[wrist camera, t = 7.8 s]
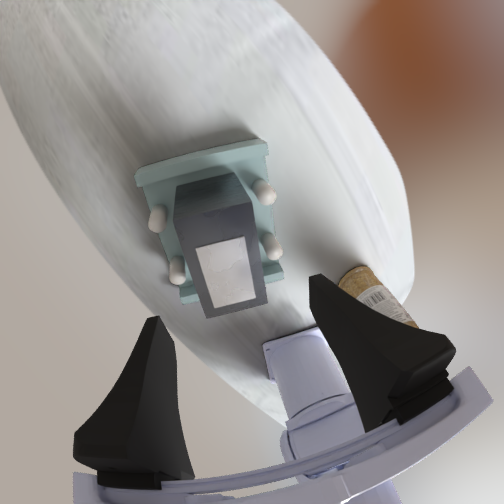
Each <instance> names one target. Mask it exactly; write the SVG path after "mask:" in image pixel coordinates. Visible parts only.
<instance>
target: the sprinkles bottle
mask: <svg viewBox="0 0 504 504" xmlns="http://www.w3.org/2000/svg"><path fill="white" fill-rule="evenodd" d="M338 286H339V287H340V288H341V289H343V290H344V291H345V292H347V293H348V294H350V295H351V296H353V297H354V298H356V299H357V300H359V301H360V302H362V303H364V304H365V305H367V306H368V307H370V308H372V309H374V310H376V311H377V312H379V313H381V314H383V315H385V316H387V317H390V318H392V319H394V320H397V321H399V322H402V323H404V324H407V325H409V326H412V327H415V328H418V326H417V325H416V323H415V321H414V320H413V319H412V318H411V317H410V315H409V314H408V313H407V312H406V310H405V309H404V308H403V307H402V305H401V304H400V303H399V302H398V301H397V299H396V298H395V297H394V296H393V295H392V294H391V292H390V291H389V290H388V289H387V288H386V287H385V286H384V285H383V284H382V283H381V282H380V281H379V280H378V278H377V277H376V276H375V275H374V273H373V271H372V270H371V269H370V268H368V267H364V266H362V267H356V268H354V269H352V270H351V271H349V272H348V273H347V274H346V275H345V276H344V277H343V278H342V279H341V281H340V283H339V285H338Z"/></svg>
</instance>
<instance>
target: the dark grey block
mask: <svg viewBox="0 0 504 504" xmlns="http://www.w3.org/2000/svg"><path fill="white" fill-rule="evenodd" d="M173 224H174V227H175V230H176V233H177V236H178V239H179V242H180V245H181V248H182V251H183V254H184V257H185V260H186V263H187V266H188V269H189V272H190V275H191V278H192V280H193V283H194V286H195V289H196V291H197V294H198V297H199V300H200V302H201V305H202V308H203V310H204V313H205V315H206V318H211V317H215V316H220V315H224V314H228V313H232V312H236V311H240V310H244V309H248V308H251V307H255V306H259V305H263V304H267V303H268V301H267V295H266V288H265V281H264V275H263V268H262V262H261V255H260V249H259V242H258V236H257V229H256V223H255V216H254V210H253V204H252V200H251V199H250V197H249V195H248V194H247V192H246V190H245V189H244V187H243V186H242V184H241V182H240V181H239V179H238V177H237V176H236V174H235V172H232V173H228V174H223V175H219V176H214V177H210V178H206V179H202V180H198V181H194V182H190V183H186V184H182V185H178V186H176V193H175V202H174V212H173Z"/></svg>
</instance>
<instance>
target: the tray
mask: <svg viewBox="0 0 504 504" xmlns="http://www.w3.org/2000/svg"><path fill="white" fill-rule="evenodd" d="M265 155H269V153H268V146H267V143H266V142H265V141H263V140H261V139H260V138H258V139H252V140H247V141H242V142H237V143H232V144H227V145H223V146H218V147H214V148H210V149H205V150H201V151H197V152H193V153H189V154H185V155H182V156H178V157H174V158H171V159H167V160H164V161H160V162H157V163H153V164H150V165H147V166H144V167H141V168H139V169H138V170H137V172H136V173H135V175H134V178H135V181H136V184H137V187H141V186H142V188H143V191H144V194H145V198H146V201H147V204H148V207H149V209H150V212H151V214H150V218H149V222H148V227H149V229H150V230H151V231H152V232H154V233H158V235H159V238H160V240H161V243H162V246H163V248H164V251H165V254H166V256H167V259H168V261H169V264H170V272H169V280H170V282H171V283H173V284H175V285H178V286H179V288H180V300H181V302H182V304H183V305H185V304H189V303H193V302H198V301H200V300H199V297H198V294H197V291H196V289H195V286H194V283H193V280H192V278H191V275H190V272H189V269H188V266H187V263H186V260H185V257H184V254H183V251H182V248H181V245H180V242H179V239H178V236H177V233H176V230H175V227H174V224H173V212H174V202H175V193H176V186H178V185H182V184H186V183H190V182H194V181H198V180H202V179H206V178H210V177H214V176H219V175H223V174H228V173H232V172H235V174H236V176H237V177H238V179H239V181H240V182H241V184H242V186H243V187H244V189H245V190H246V192H247V194H248V195H249V197H250V199H251V200H252V204H253V210H254V216H255V223H256V229H257V236H258V242H259V249H260V255H261V262H262V268H263V275H264V281H265V284H267V283H271V282H275V281H278V280H282V279H284V274H283V270H282V268H281V266H280V264H279V260H278V259H279V258H280V257H281V256H282V254H283V249H282V247H281V246H280V244H279V242H278V241H277V239H276V236H275V228H274V220H273V212H272V205H271V204H272V203H274V202H275V200H276V197H277V195H276V192H275V190H274V189H273V188H272V187H271V186H270V185H269V183H268V176H267V169H266V162H265Z"/></svg>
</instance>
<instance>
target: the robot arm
mask: <svg viewBox="0 0 504 504" xmlns="http://www.w3.org/2000/svg"><path fill="white" fill-rule="evenodd" d="M309 304H310V309H311V312H312V314H313V317H314V319H315V321H316V323H317V325H318V327H315V328H312V329H309V330H306V331H303V332H300V333H296V334H293V335H290V336H287V337H283V338H280V339H276V340H273V341H269V342H266V343H264V344H263V351H264V355H265V360H266V364H267V369H268V373H269V378H270V382H271V383H277V386H278V389H279V392H280V395H281V398H282V400H283V403H284V406H285V409H286V412H287V415H288V418H289V420H288V421H286V422H285V423H286V426H287V429H286V430H284V431H283V433H282V436H281V438H280V447H281V451H282V454H283V457H284V460H285V462H286V463H282V464H279V465H275V466H271V467H267V468H263V469H258V470H254V471H249V472H244V473H238V474H232V475H226V476H219V477H212V478H203V479H194V478H195V475H194V472H193V469H192V466H191V462H190V459H189V456H188V452H187V448H186V445H185V440H184V436H183V431H182V426H181V421H180V415H179V409H178V398H177V397H178V396H177V360H176V353H175V346H174V341H173V340H172V338H171V336H170V334H169V333H168V331H167V329H166V327H165V325H164V324H163V322H162V320H161V318H160V316H154V317H150V318H147V320H146V322H145V324H144V326H143V329H142V331H141V333H140V335H139V338H138V340H137V342H136V345H135V347H134V349H133V351H132V353H131V356H130V357H129V359H128V361H127V363H126V365H125V367H124V369H123V371H122V373H121V375H120V377H119V378H118V380H117V382H116V383H115V385H114V387H113V388H112V390H111V391H110V392H109V394H108V395H107V397H106V398H105V399H104V401H103V402H102V404H101V405H100V406H99V407H98V409H97V410H96V411H95V412H94V413H93V414H92V416H91V417H90V418H89V419H88V420H87V421H86V422H85V423H84V424H83V425H82V426H81V427H80V428H79V429H78V430H77V431H76V432H75V434H74V445H73V457H74V459H75V460H76V461H78V462H80V463H81V464H83V465H86V466H88V467H90V468H92V469H95V470H97V476H96V475H92V474H86V473H78V472H74V473H73V499H74V501H73V502H74V504H402V502H401V500H400V498H399V496H398V493H397V491H396V489H395V487H394V485H393V482H392V480H391V479H392V478H393V477H395V476H397V475H399V474H400V473H402V472H404V471H406V470H407V469H409V468H411V467H412V466H414V465H415V464H417V463H418V462H420V461H421V460H423V459H425V458H426V457H427V456H429V455H430V454H432V453H433V452H435V451H436V450H438V449H439V448H440V447H441V446H443V445H444V444H446V443H447V442H448V441H450V440H451V439H452V438H453V437H454V436H456V435H457V434H458V433H460V432H461V431H462V430H463V429H464V428H466V427H467V426H468V425H469V424H470V423H471V422H473V421H474V420H475V419H476V418H477V417H478V416H479V415H480V414H481V413H482V412H484V410H486V409H487V408H488V407H489V406H490V405H491V404H492V403H493V399H492V397H491V396H490V394H489V393H488V391H487V390H486V388H485V387H484V386H483V384H482V383H481V381H480V380H479V378H478V377H477V375H476V374H475V373H474V371H473V370H472V368H471V367H470V366H468V367H467V368H465V369H464V370H463V371H462V372H460V373H459V374H458V375H456V376H455V377H454V378H453V379H452V380H451V381H449V380H448V378H447V377H448V375H449V373H448V372H447V370H446V368H447V366H448V365H449V363H450V362H451V360H452V359H453V357H454V355H455V353H456V348H455V347H454V346H453V344H452V343H451V342H450V340H449V339H448V338H447V337H446V336H445V335H444V334H439V333H434V332H429V331H426V330H422V329H419V328H415V327H412V326H409V325H407V324H404V323H402V322H399V321H397V320H394V319H392V318H390V317H387V316H385V315H383V314H381V313H379V312H377V311H376V310H374V309H372V308H370V307H368V306H367V305H365V304H364V303H362V302H360V301H359V300H357V299H356V298H354V297H353V296H351V295H350V294H348V293H347V292H345V291H344V290H343V289H341V288H340V287H339V286H337V285H336V284H334V283H333V282H332V281H330V280H329V279H328V278H326V277H325V276H324V275H322V274H321V273H320V274H317V275H314V276H310V277H309ZM328 344H329V346H330V348H331V350H332V351H333V353H334V355H335V356H336V358H337V360H338V362H339V364H340V366H341V368H342V371H343V373H344V375H345V378H346V380H347V382H348V385H349V387H350V390H351V392H350V390H349V388H348V386H347V384H346V383H345V380H344V378H343V376H342V374H341V372H340V371H339V369H338V367H337V365H336V363H335V361H334V359H333V357H332V355H331V353H330V351H329V349H328ZM344 462H345V463H344ZM342 463H343V464H342ZM337 465H338V466H337ZM335 466H336V467H335ZM332 467H333V468H332ZM330 468H331V469H330ZM327 469H328V470H327ZM294 476H295V477H296V479H297V480H298V482H299V484H296V485H293V486H289V487H285V488H281V489H277V490H273V491H269V492H265V493H260V494H256V495H251V496H246V497H241V498H234V497H232V496H222V495H221V494H213V495H212V494H211V495H193V494H205V493H214V492H223V491H230V490H236V489H242V488H248V487H253V486H258V485H263V484H267V483H271V482H276V481H280V480H284V479H287V478H291V477H294Z"/></svg>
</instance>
